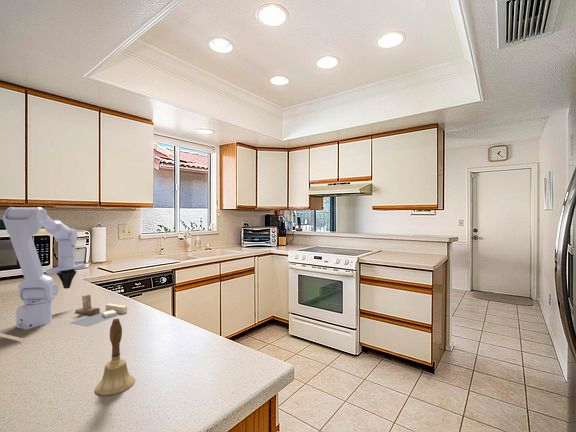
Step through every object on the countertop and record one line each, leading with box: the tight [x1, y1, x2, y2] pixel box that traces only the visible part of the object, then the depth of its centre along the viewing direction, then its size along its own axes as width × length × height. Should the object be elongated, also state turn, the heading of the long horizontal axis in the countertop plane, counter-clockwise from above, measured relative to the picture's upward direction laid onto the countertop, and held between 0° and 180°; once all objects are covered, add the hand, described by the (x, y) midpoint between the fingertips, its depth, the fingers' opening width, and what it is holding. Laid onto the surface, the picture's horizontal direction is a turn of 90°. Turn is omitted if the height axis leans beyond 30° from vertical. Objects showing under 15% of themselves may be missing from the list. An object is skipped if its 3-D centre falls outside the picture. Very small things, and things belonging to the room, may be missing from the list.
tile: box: [101, 310, 117, 318], centre depth 116 cm, size 4×4×1 cm
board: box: [69, 303, 128, 328], centre depth 114 cm, size 16×10×4 cm, turn 159°
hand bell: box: [94, 318, 136, 396], centre depth 71 cm, size 8×8×16 cm
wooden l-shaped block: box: [75, 294, 101, 316], centre depth 119 cm, size 3×10×8 cm, turn 69°
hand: (66, 288), depth 125 cm, fingers closed
